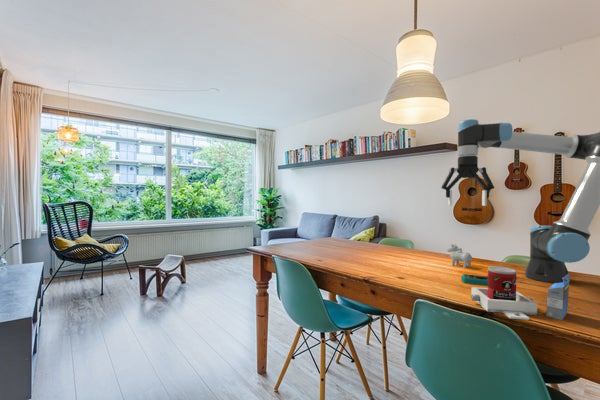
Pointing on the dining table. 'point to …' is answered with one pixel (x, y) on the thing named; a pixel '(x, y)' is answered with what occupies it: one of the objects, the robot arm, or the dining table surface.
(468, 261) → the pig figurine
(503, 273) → the canned food
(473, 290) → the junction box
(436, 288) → the dining table surface
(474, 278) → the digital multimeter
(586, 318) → the dining table surface
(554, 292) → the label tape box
